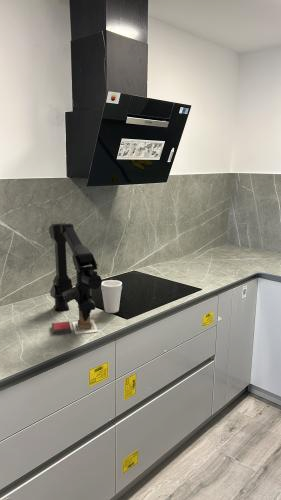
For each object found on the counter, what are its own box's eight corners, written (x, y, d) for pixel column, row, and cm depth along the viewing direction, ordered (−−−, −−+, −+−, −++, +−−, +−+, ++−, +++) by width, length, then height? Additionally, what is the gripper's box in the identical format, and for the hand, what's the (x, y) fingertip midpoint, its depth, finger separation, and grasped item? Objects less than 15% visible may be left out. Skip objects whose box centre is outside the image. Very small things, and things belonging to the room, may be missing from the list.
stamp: (77, 324, 163) (77, 306, 161) (89, 323, 164) (89, 305, 163) (79, 329, 158) (78, 311, 156) (91, 328, 160) (91, 309, 158)
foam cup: (103, 315, 174) (103, 287, 171) (99, 307, 183) (99, 281, 180) (124, 313, 177) (124, 285, 174) (119, 305, 185) (119, 279, 182)
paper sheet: (72, 322, 166) (72, 321, 166) (93, 320, 168) (93, 319, 168) (75, 334, 155) (75, 333, 154) (98, 332, 157) (98, 331, 157)
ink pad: (51, 326, 162) (51, 322, 161) (69, 324, 164) (68, 320, 163) (53, 334, 154) (52, 330, 154) (71, 332, 156) (70, 328, 156)
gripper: (61, 277, 164) (62, 312, 167) (65, 291, 146) (66, 330, 150) (88, 275, 167) (88, 309, 170) (95, 289, 149) (95, 327, 153)
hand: (84, 318), depth 161 cm, fingers closed on stamp, 4 cm apart
